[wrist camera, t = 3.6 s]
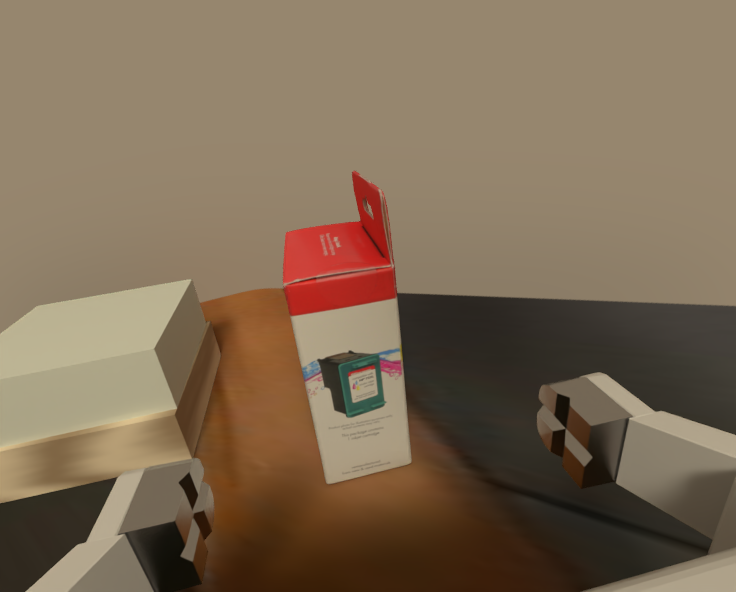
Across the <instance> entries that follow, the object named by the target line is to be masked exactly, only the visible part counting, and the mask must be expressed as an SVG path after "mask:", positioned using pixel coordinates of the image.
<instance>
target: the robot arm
mask: <svg viewBox="0 0 736 592" xmlns="http://www.w3.org/2000/svg"><path fill="white" fill-rule="evenodd" d="M539 400H540V401H541V402H542V403H543V406H542V408H541V409H540V410H539V412H538V413H537V427H538V431H539V434H540V437H541V439H542V441H543V442H544V444H545V445H546V447H547V448H548V449H549V450H550V452H552V453H554V454H556V455H558V456H560V457H562V466H563V468H564V469H565V470H566V471H567V472H568V474H569V475H570V476H571V477H572V478H573V480H574V481H575V482H576V483H577V484H578V486H579V487H580V488H581V489H583V488H587V487H592V486H597V485H601V484H606V483H610V482H615V481H616V484H618V485H620V486H621V487H623V488H625V489H627V490H628V491H630V492H632V493H633V494H635V495H637V496H639V497H640V498H642V499H644V500H645V501H647V502H649V503H651V504H652V505H654V506H656V507H657V508H659V509H661V510H663V511H664V512H666V513H668V514H669V515H671V516H673V517H675V518H676V519H678V520H680V521H681V522H683V523H685V524H687V525H688V526H690V527H692V528H693V529H695V530H697V531H699V532H700V533H702V534H704V535H705V536H707V537H709V538H711V539H712V543H711V546H710V548H709V551H708V554H707V556H703V557H700V558H697V559H693V560H690V561H686V562H683V563H679V564H676V565H672V566H669V567H665V568H662V569H658V570H655V571H651V572H648V573H644V574H641V575H637V576H634V577H630V578H627V579H624V580H620V581H617V582H613V583H610V584H606V585H603V586H599V587H596V588H592V589H589V590H585V591H582V592H736V435H733V434H730V433H727V432H724V431H721V430H718V429H715V428H712V427H709V426H706V425H703V424H700V423H697V422H694V421H691V420H688V419H685V418H682V417H679V416H676V415H673V414H670V413H666V412H663V411H659V412H655V411H653V410H652V409H651V408H650V407H648V406H647V405H646V404H644V403H643V402H642V401H640V400H639V399H638V398H636V397H635V396H634V395H632V394H631V393H630V392H628V391H627V390H626V389H624V388H623V387H622V386H620V385H619V384H618V383H617V382H615V381H614V380H613V379H611V378H610V377H609V376H607V375H606V374H603V373H600V372H597V373H593V374H589V375H584V376H580V377H578V378H573V379H568V380H563V381H559V382H554V383H550V384H545V385H542V387H541V388H540V390H539ZM203 473H204V469H203V467H202V464H201V462H200V459H197V458H193V459H187V460H182V461H177V462H171V463H166V464H161V465H155V466H150V467H148V468H142V469H136V470H131V471H125V472H124V473H122V474H121V475H120V476H119V477H118V479H117V481H116V483H115V485H114V487H113V489H112V491H111V493H110V495H109V497H108V499H107V501H106V503H105V505H104V507H103V509H102V511H101V513H100V515H99V517H98V519H97V521H96V523H95V525H94V527H93V529H92V531H91V533H90V535H89V538H88V540H87V542H86V543H83V544H78V545H77V546H76V547H75V548H73V549H72V550H71V551H70V552H69V553H68V554H67V555H66V556H65V557H64V558H62V559H61V560H60V561H59V562H58V563H57V564H56V565H55V566H54V567H53V568H51V569H50V570H49V571H48V572H47V573H46V574H45V575H44V576H43V577H41V578H40V579H39V580H38V581H37V582H36V583H35V584H34V585H33V586H32V587H30V588H29V589H28V590H27V591H26V592H174V591H178V590H181V589H185V588H189V587H192V586H196V585H199V584H202V581H203V576H204V570H205V565H206V560H207V555H208V550H207V547H206V544H205V542H204V540H205V539H206V538H207V537H208V536H209V534H210V533H211V532H212V528H213V522H214V501H213V495H212V491H211V489H210V486H209V485H208V484H206V483H204V482H203V481H202V478H203Z"/></svg>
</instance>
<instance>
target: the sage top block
mask: <svg viewBox="0 0 736 592" xmlns="http://www.w3.org/2000/svg"><path fill="white" fill-rule="evenodd" d="M205 326H206V322H205V319H204V315H203V312H202V309H201V306H200V303H199V300H198V297H197V293H196V290H195V287H194V284H193V281H192V279H189V280H184V281H178V282H172V283H166V284H161V285H155V286H149V287H143V288H138V289H133V290H127V291H121V292H116V293H110V294H104V295H98V296H92V297H87V298H81V299H75V300H70V301H64V302H58V303H53V304H48V305H41V306H37V307H36V308H34V309H33V310H32V311H30V312H29V313H28V314H26V315H25V316H23V317H22V318H21V319H20V320H18V321H17V322H15V323H14V324H13V325H11V326H10V327H9V328H7V329H6V330H5V331H3V332H2V333H1V334H0V448H2V447H6V446H11V445H15V444H20V443H24V442H29V441H33V440H38V439H42V438H47V437H51V436H56V435H60V434H65V433H69V432H74V431H78V430H83V429H87V428H92V427H96V426H101V425H105V424H110V423H114V422H119V421H123V420H128V419H132V418H137V417H141V416H146V415H150V414H155V413H159V412H164V411H168V410H173V409H177V408H178V405H179V402H180V399H181V396H182V393H183V390H184V387H185V384H186V381H187V378H188V376H189V373H190V370H191V367H192V364H193V361H194V358H195V355H196V352H197V349H198V346H199V343H200V341H201V338H202V335H203V332H204V329H205Z"/></svg>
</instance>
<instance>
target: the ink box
mask: <svg viewBox="0 0 736 592" xmlns="http://www.w3.org/2000/svg"><path fill="white" fill-rule="evenodd" d="M352 178H353V186H354V192H355V196H356V201H357V206H358V211H359V214H360V219H361V220H360V221H359V222H348V223H339V224H331V225H323V226H316V227H310V228H304V229H299V230H294V231H290V232H287V233H286V238H285V248H284V249H285V250H284V264H283V287H284V291H285V296H286V300H287V304H288V309H289V313H290V317H291V321H292V326H293V331H294V336H295V340H296V345H297V349H298V354H299V358H300V363H301V367H302V372H303V376H304V381H305V386H306V390H307V395H308V400H309V404H310V409H311V414H312V418H313V423H314V427H315V432H316V437H317V441H318V446H319V451H320V455H321V460H322V465H323V469H324V475H325V480H326V483H327V484H333V483H337V482H341V481H345V480H349V479H353V478H357V477H361V476H365V475H369V474H372V473H376V472H381V471H385V470H388V469H392V468H396V467H400V466H404V465H408V464H410V463H411V461H412V460H411V449H410V439H409V428H408V417H407V405H406V393H405V382H404V370H403V358H402V346H401V334H400V323H399V311H398V301H397V288H396V278H395V266H394V259H393V252H392V242H391V233H390V223H389V218H388V210H387V205H386V201H385V197H384V194H383V191H382V190H381V189H379V188H378V187H377V186H375V185H374V184H372V182H371V181H369V180H368V179H367V178H365V177H364V176H362V175H360V174H359V173H357V172H356V171H353V172H352ZM366 198H367V199H366ZM367 201H368V204H369V205H370V206H371V209H372V212H373V216H372V214H371V213H370V212H369V210H368V206H367Z"/></svg>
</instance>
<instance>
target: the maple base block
mask: <svg viewBox="0 0 736 592" xmlns="http://www.w3.org/2000/svg"><path fill="white" fill-rule="evenodd" d="M220 358H221V353H220V350H219V347H218V344H217V341H216V337H215V334H214V331H213V328H212V324H211V321H208V322H206V326H205V329H204V332H203V335H202V338H201V341H200V343H199V346H198V349H197V352H196V355H195V358H194V361H193V364H192V367H191V370H190V373H189V376H188V378H187V381H186V384H185V387H184V390H183V393H182V396H181V399H180V402H179V405H178V408H177V409H173V410H168V411H164V412H159V413H155V414H150V415H146V416H141V417H137V418H132V419H128V420H123V421H119V422H114V423H110V424H105V425H101V426H96V427H92V428H87V429H83V430H78V431H74V432H69V433H65V434H60V435H56V436H51V437H47V438H42V439H38V440H33V441H29V442H24V443H20V444H15V445H11V446H6V447H2V448H0V503H3V502H8V501H12V500H17V499H21V498H26V497H30V496H35V495H39V494H43V493H48V492H52V491H57V490H61V489H66V488H70V487H75V486H79V485H84V484H88V483H92V482H97V481H101V480H106V479H110V478H115V477H119V476H120V475H121V474H122V473H124V472H125V471H131V470H136V469H142V468H148V467H150V466H155V465H161V464H166V463H171V462H177V461H182V460H187V459H193V456H194V453H195V449H196V445H197V442H198V438H199V434H200V431H201V427H202V424H203V420H204V416H205V413H206V409H207V405H208V402H209V398H210V394H211V391H212V387H213V383H214V380H215V376H216V373H217V369H218V365H219V362H220Z"/></svg>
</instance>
